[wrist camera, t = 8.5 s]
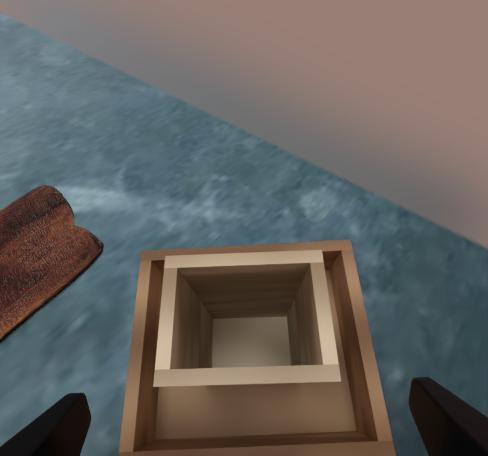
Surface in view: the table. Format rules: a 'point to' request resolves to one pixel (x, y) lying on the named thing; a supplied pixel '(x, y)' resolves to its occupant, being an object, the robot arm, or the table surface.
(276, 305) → the birch crate
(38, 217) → the wooden tablet
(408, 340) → the table surface
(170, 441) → the oak crate
